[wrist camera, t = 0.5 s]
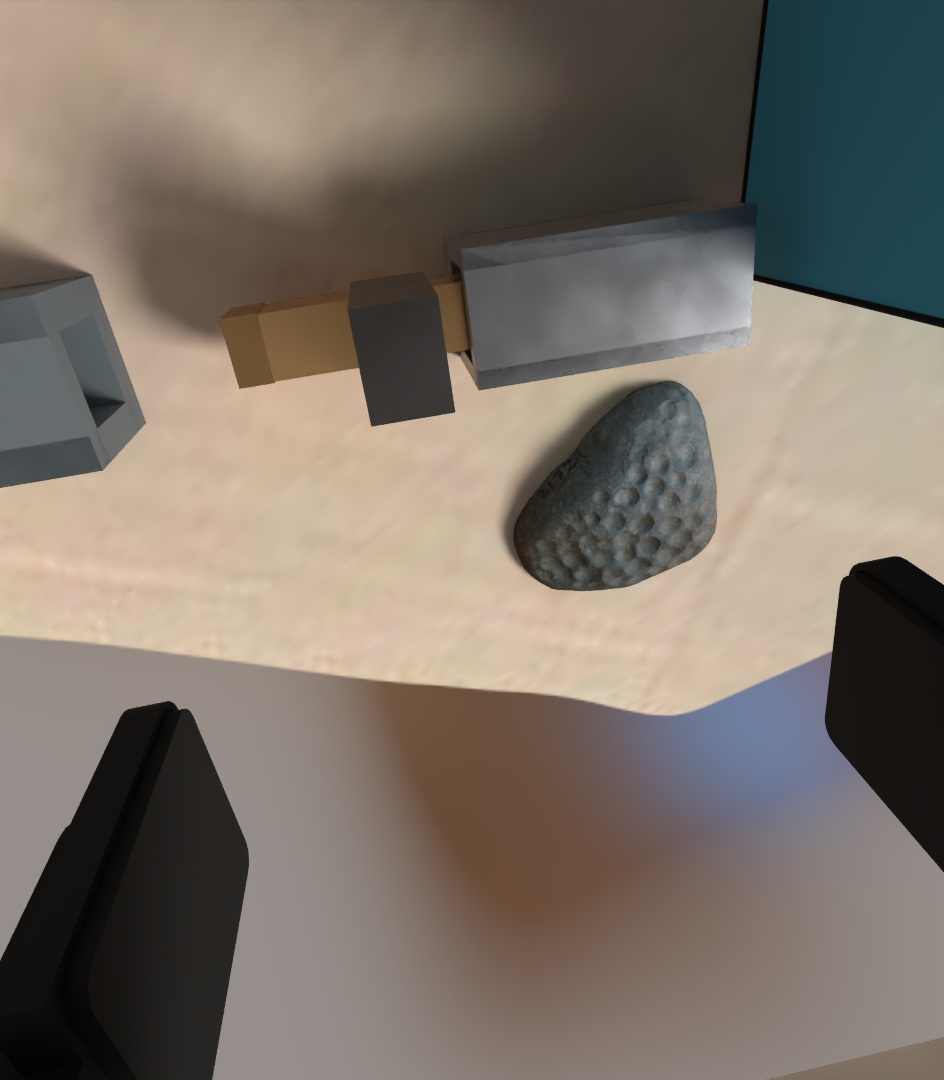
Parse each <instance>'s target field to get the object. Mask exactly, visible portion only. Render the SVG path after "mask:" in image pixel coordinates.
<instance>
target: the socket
mask: <svg viewBox="0 0 944 1080" xmlns="http://www.w3.org/2000/svg"><path fill="white" fill-rule="evenodd" d="M145 423H146V422H145V419H144V417H143V414H142V411H141V408H140V406H139V403H138V400H137V397H136V395H135V392H134V389H133V386H132V384H131V381H130V378H129V375H128V373H127V370H126V367H125V365H124V362H123V359H122V356H121V354H120V351H119V348H118V345H117V343H116V340H115V337H114V334H113V332H112V329H111V326H110V323H109V321H108V318H107V315H106V312H105V310H104V307H103V304H102V301H101V299H100V296H99V293H98V290H97V288H96V285H95V282H94V279H93V277H92V275H88V276H82V277H75V278H69V279H62V280H55V281H49V282H42V283H36V284H29V285H23V286H16V287H10V288H3V289H0V488H2V487H8V486H14V485H20V484H26V483H32V482H38V481H44V480H50V479H55V478H61V477H67V476H73V475H79V474H85V473H91V472H97V471H103V470H104V469H105V468H106V466H107V465H108V464H109V463H110V462H111V461H112V460H113V459H114V458H115V457H116V455H117V454H118V453H119V452H120V451H121V450H122V449H123V448H124V447H125V445H126V444H127V443H128V442H129V441H130V440H131V439H132V438H133V437H134V436H135V434H136V433H137V432H138V431H139V430H140V429H141V428H142V427H143V426H144V424H145Z"/></svg>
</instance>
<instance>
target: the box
mask: <svg viewBox="0 0 944 1080" xmlns="http://www.w3.org/2000/svg"><path fill="white" fill-rule="evenodd" d="M741 203H757V219H756V237H755V255H754V273H753V280H754V281H758V282H762V283H766V284H770V285H774V286H778V287H782V288H786V289H790V290H794V291H798V292H802V293H806V294H810V295H814V296H818V297H822V298H826V299H830V300H834V301H838V302H842V303H846V304H850V305H854V306H858V307H862V308H866V309H870V310H874V311H878V312H882V313H886V314H890V315H894V316H898V317H902V318H906V319H910V320H914V321H918V322H922V323H926V324H930V325H934V326H938V327H942V328H944V0H764V5H763V14H762V22H761V31H760V40H759V49H758V57H757V66H756V75H755V84H754V92H753V101H752V110H751V119H750V127H749V136H748V145H747V153H746V162H745V171H744V180H743V188H742V197H741Z"/></svg>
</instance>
